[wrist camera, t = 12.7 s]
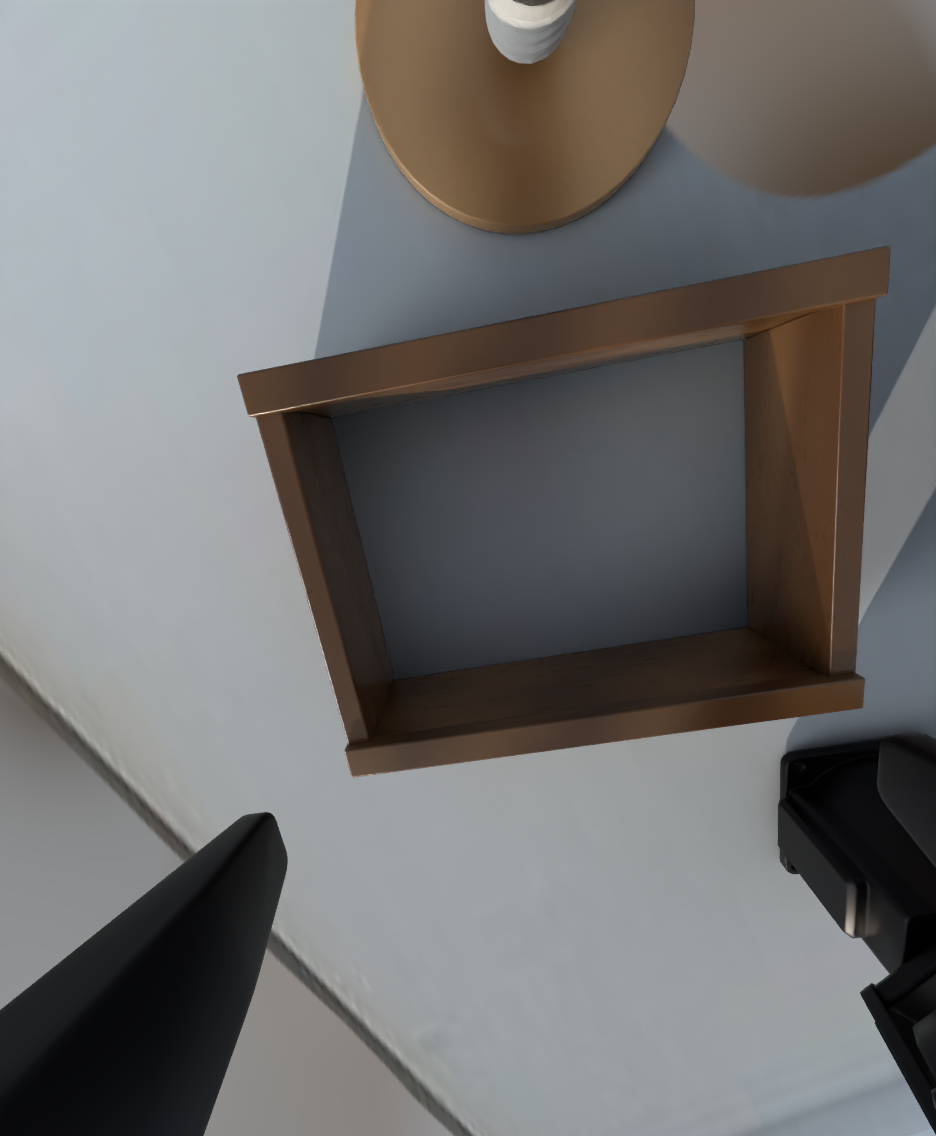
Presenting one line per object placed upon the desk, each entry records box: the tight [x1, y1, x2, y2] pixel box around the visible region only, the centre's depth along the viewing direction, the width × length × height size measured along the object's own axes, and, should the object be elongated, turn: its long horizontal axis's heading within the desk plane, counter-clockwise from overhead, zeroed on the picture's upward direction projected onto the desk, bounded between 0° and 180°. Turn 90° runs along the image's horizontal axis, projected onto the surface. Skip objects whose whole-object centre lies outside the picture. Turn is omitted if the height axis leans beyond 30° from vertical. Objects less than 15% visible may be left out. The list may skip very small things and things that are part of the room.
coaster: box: [355, 0, 695, 234], centre depth 13 cm, size 10×10×1 cm
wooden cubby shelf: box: [237, 246, 890, 777], centre depth 15 cm, size 17×13×5 cm
